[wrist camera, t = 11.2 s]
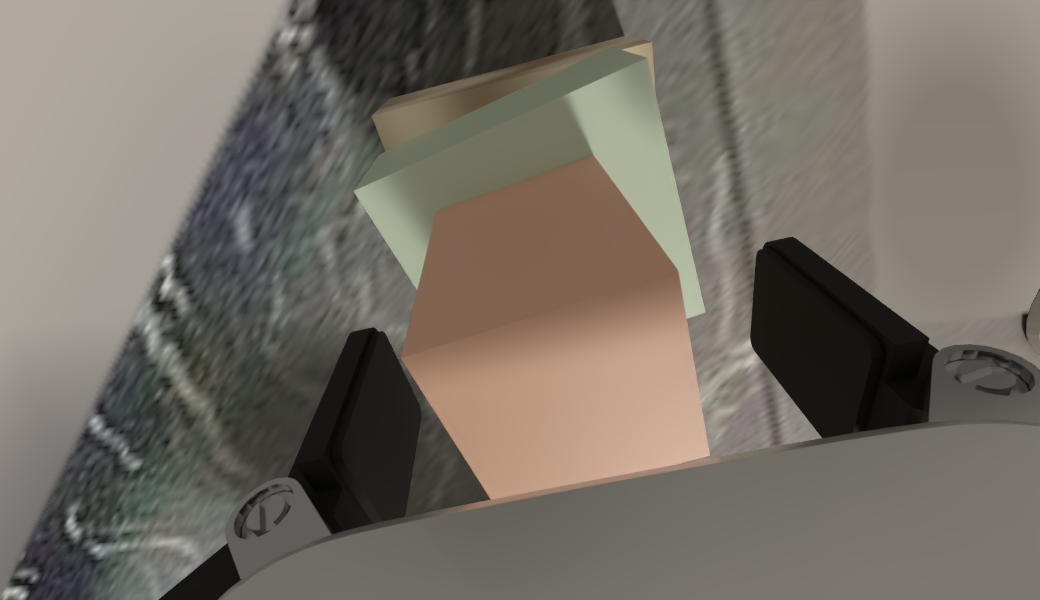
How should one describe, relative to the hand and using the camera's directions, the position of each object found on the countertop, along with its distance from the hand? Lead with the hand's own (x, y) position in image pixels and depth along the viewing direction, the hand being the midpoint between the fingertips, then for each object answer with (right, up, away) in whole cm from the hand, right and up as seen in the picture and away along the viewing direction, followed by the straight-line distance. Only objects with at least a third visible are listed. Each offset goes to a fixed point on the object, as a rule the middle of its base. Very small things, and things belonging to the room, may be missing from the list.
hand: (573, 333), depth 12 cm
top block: (-1, +4, +7) cm, 8 cm away
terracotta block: (-1, +2, +3) cm, 4 cm away
